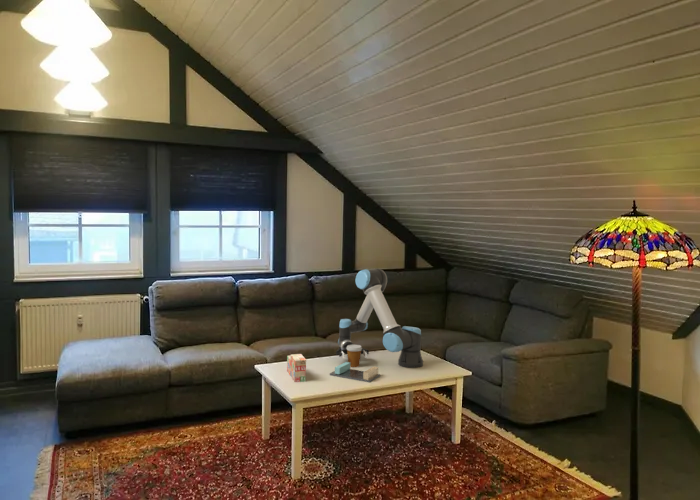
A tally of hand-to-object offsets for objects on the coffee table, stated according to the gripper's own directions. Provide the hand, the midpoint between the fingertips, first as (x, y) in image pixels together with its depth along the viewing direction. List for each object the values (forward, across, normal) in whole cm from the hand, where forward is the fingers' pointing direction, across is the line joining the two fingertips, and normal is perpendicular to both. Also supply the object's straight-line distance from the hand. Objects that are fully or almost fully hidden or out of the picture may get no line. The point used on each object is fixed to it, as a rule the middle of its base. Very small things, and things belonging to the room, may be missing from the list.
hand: (355, 355), depth 333 cm
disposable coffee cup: (-3, 0, -7) cm, 8 cm away
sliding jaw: (+11, +10, -6) cm, 16 cm away
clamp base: (+16, +4, -7) cm, 18 cm away
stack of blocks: (+13, +37, -7) cm, 39 cm away
